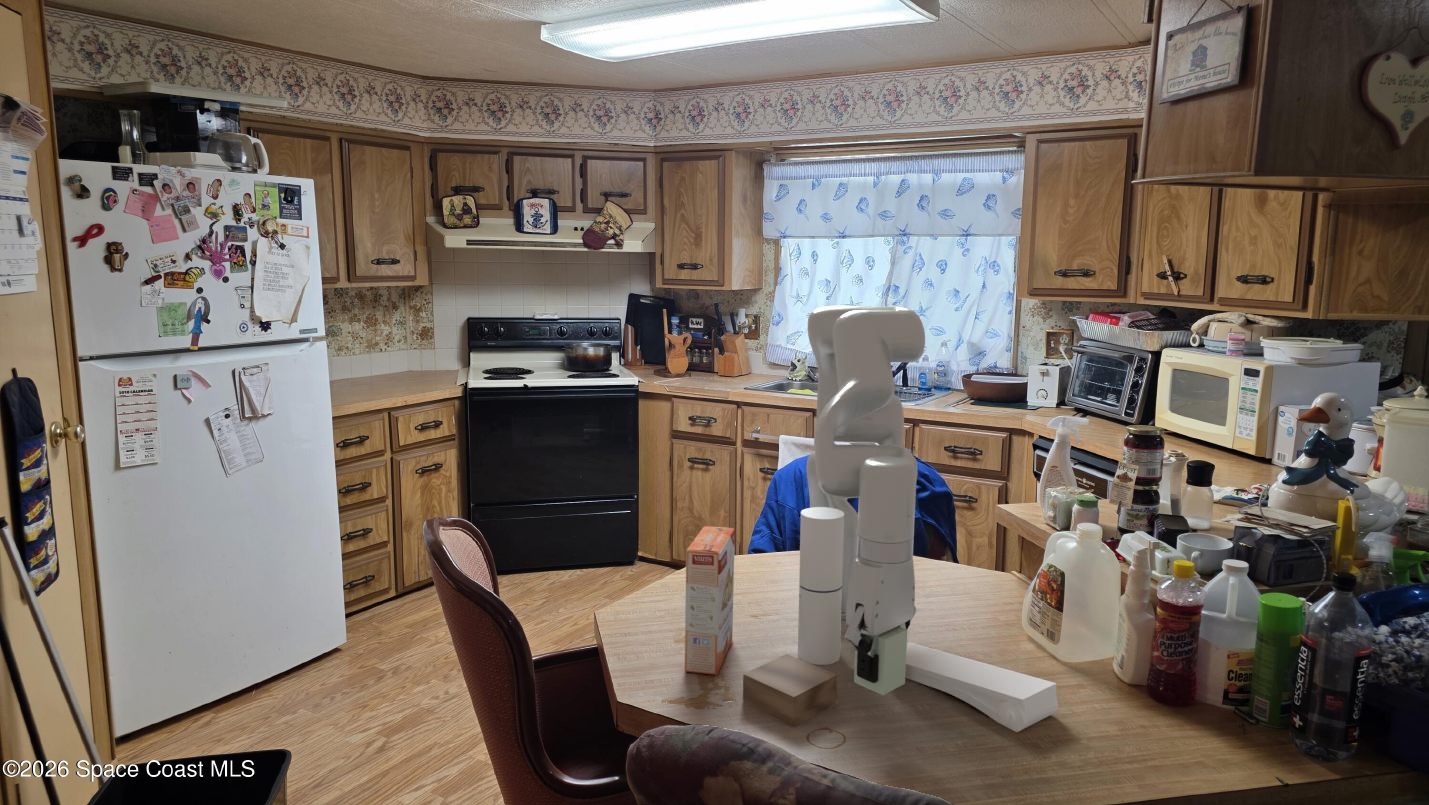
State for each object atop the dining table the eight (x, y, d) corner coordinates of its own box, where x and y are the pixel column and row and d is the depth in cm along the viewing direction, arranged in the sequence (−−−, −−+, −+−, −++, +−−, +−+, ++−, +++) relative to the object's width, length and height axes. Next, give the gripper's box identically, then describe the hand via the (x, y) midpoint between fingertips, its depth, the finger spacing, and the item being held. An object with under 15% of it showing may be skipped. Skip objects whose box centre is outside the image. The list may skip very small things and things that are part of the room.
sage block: (876, 671, 129) (878, 618, 127) (904, 683, 125) (907, 629, 124) (854, 682, 125) (855, 628, 124) (883, 695, 122) (885, 640, 120)
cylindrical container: (812, 668, 147) (816, 521, 143) (789, 651, 154) (792, 510, 150) (848, 659, 151) (853, 515, 147) (824, 643, 157) (828, 505, 153)
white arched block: (880, 698, 150) (1026, 750, 127) (869, 659, 148) (1016, 705, 126) (918, 668, 155) (1064, 713, 133) (908, 630, 154) (1055, 669, 131)
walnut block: (786, 683, 143) (786, 653, 142) (836, 705, 136) (837, 674, 135) (742, 705, 136) (743, 674, 135) (793, 729, 129) (793, 697, 128)
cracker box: (719, 677, 144) (720, 552, 141) (683, 673, 145) (683, 549, 142) (735, 641, 158) (736, 526, 154) (701, 638, 159) (702, 524, 156)
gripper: (899, 528, 130) (894, 646, 133) (822, 555, 119) (819, 682, 122) (944, 541, 125) (937, 663, 128) (868, 569, 113) (863, 703, 116)
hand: (879, 671), depth 125 cm, fingers closed on sage block, 4 cm apart
